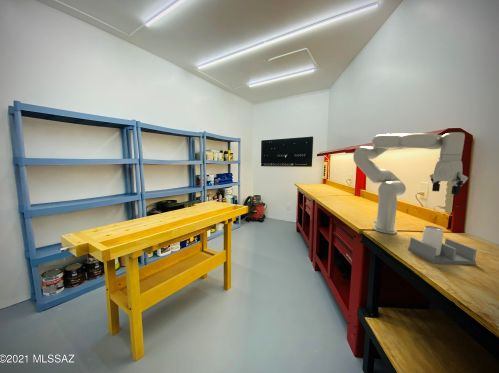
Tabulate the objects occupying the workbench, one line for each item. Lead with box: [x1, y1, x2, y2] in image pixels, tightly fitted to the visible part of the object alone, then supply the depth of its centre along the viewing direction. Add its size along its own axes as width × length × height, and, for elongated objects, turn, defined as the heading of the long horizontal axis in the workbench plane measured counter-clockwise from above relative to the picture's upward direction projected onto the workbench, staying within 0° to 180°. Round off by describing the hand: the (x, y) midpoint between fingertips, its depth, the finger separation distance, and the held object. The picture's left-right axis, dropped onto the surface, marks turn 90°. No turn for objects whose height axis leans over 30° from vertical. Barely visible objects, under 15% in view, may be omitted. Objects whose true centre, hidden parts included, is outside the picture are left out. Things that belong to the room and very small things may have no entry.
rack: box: [407, 237, 478, 266], centre depth 86 cm, size 13×18×6 cm
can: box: [421, 225, 444, 256], centre depth 86 cm, size 6×6×12 cm
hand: (444, 192), depth 95 cm, fingers open, 9 cm apart
